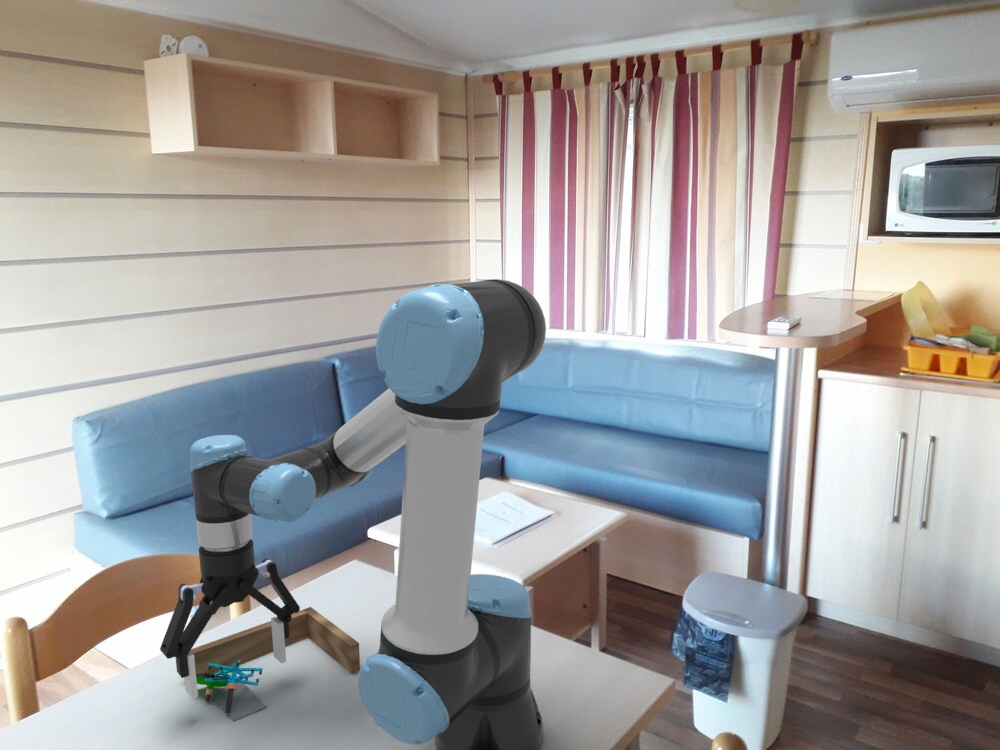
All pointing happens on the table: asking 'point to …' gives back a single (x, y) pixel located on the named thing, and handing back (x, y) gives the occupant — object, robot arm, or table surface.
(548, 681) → the table surface
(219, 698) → the pad
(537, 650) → the table surface
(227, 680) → the stick construction toy
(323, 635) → the wooden corner wall
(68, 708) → the table surface
